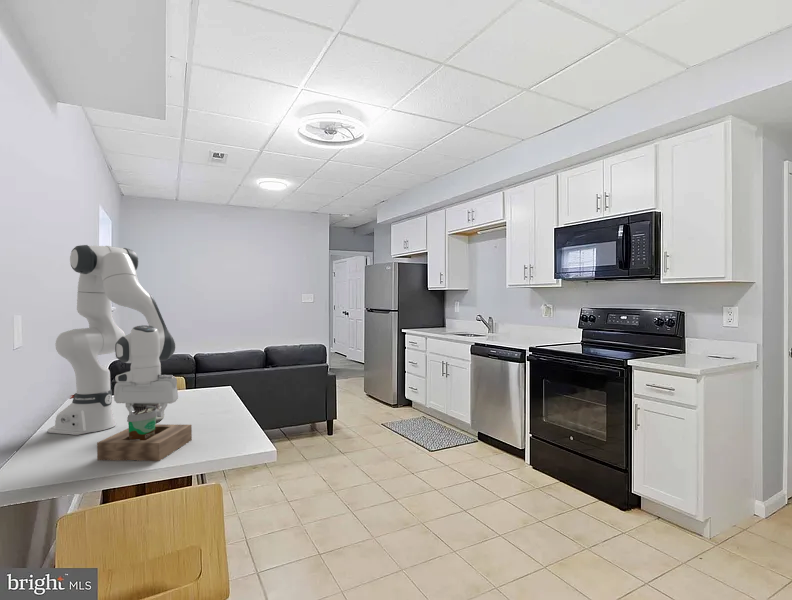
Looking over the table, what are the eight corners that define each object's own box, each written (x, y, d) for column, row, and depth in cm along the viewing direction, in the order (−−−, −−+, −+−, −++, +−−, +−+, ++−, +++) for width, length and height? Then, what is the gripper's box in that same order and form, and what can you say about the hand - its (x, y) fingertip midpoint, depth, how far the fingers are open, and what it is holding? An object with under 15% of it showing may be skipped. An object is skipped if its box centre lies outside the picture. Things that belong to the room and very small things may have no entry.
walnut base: (97, 460, 144) (97, 442, 144) (136, 439, 164) (136, 424, 164) (159, 460, 143) (159, 443, 143) (191, 440, 163) (191, 424, 163)
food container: (146, 446, 147) (146, 415, 147) (127, 446, 147) (127, 415, 147) (165, 434, 160) (165, 405, 159) (147, 433, 160) (147, 405, 159)
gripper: (181, 373, 155) (182, 414, 156) (122, 373, 157) (123, 413, 157) (171, 376, 149) (172, 419, 149) (110, 376, 150) (111, 418, 151)
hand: (146, 416), depth 153 cm, fingers open, 8 cm apart
